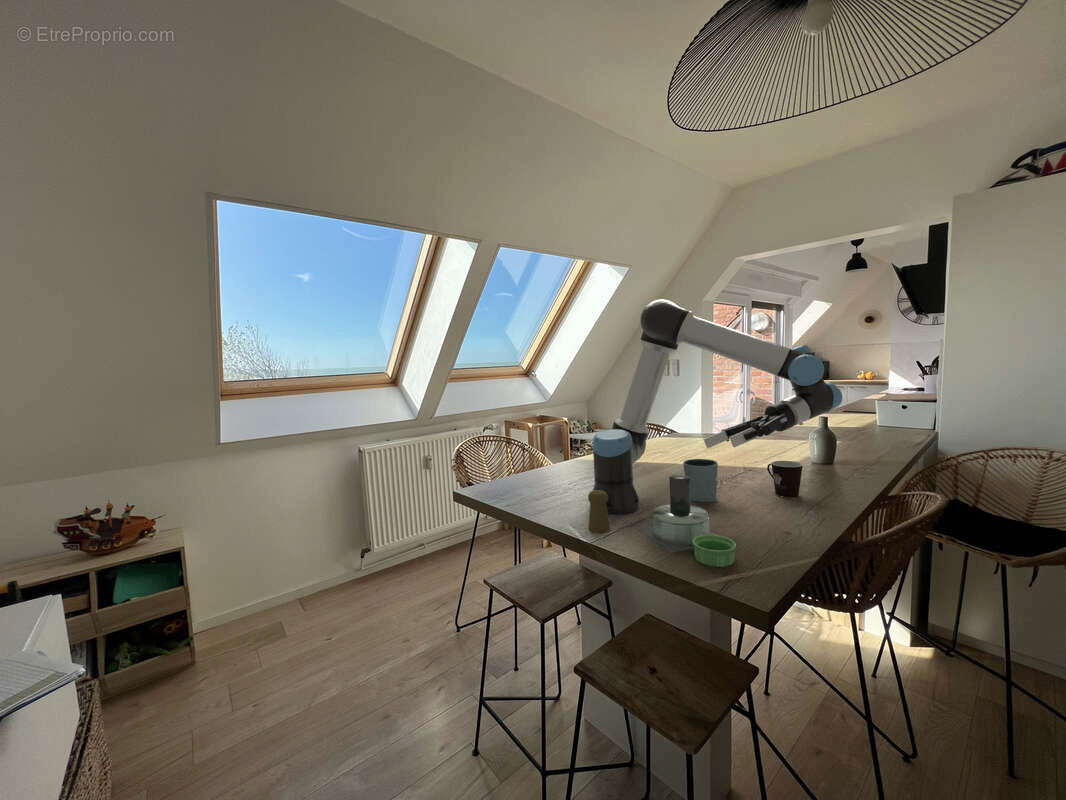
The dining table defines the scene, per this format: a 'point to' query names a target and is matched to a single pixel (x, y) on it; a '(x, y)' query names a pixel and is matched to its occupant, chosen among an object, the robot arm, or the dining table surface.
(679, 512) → the cover
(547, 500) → the dining table surface
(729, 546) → the ramekin
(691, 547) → the mat
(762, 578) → the dining table surface
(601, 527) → the cork
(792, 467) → the coffee mug
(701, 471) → the teal cup
